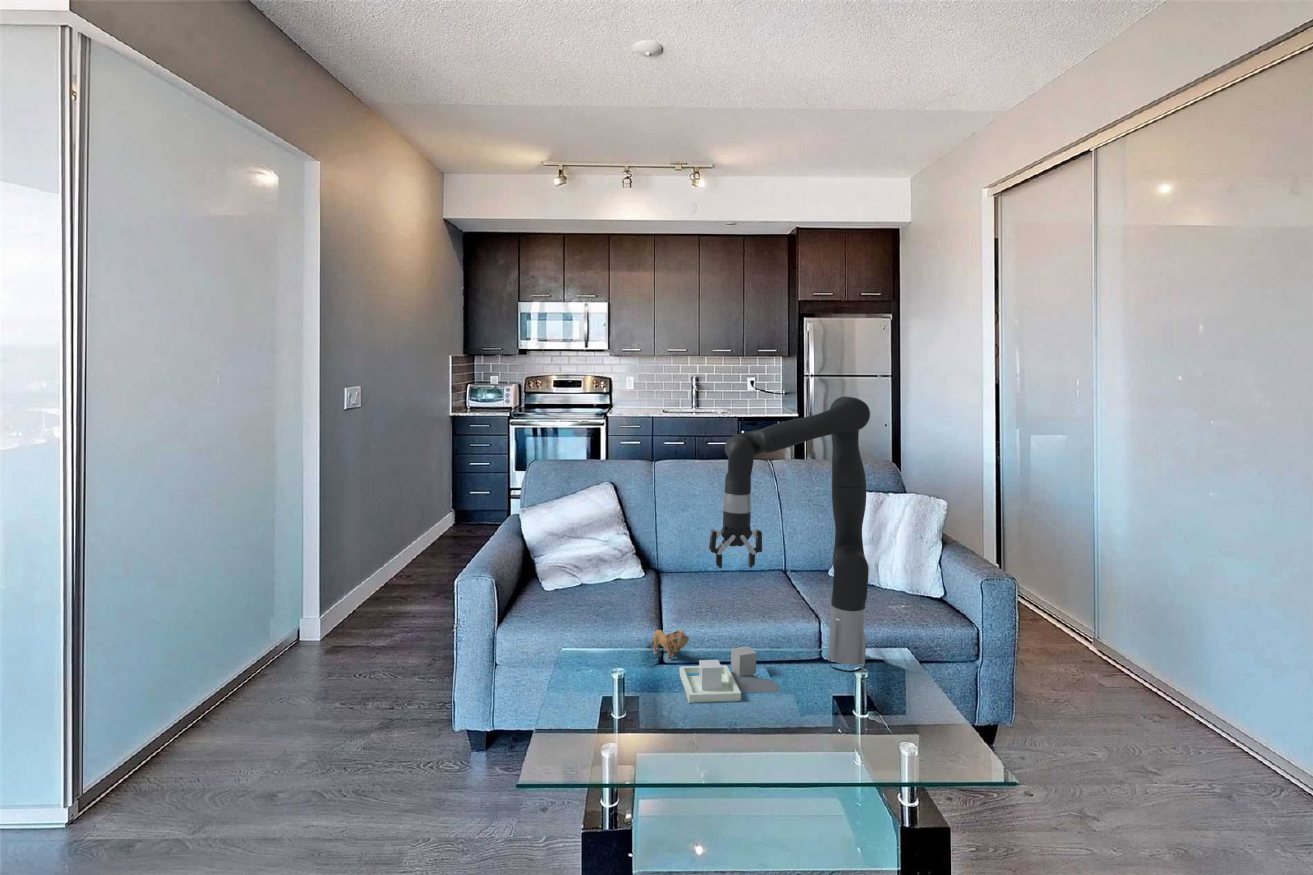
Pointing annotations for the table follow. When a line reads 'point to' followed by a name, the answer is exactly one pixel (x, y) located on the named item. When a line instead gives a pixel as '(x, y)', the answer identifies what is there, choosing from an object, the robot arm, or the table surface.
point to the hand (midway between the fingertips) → (735, 567)
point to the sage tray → (697, 695)
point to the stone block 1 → (710, 674)
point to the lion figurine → (669, 641)
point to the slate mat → (754, 684)
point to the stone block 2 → (743, 661)
